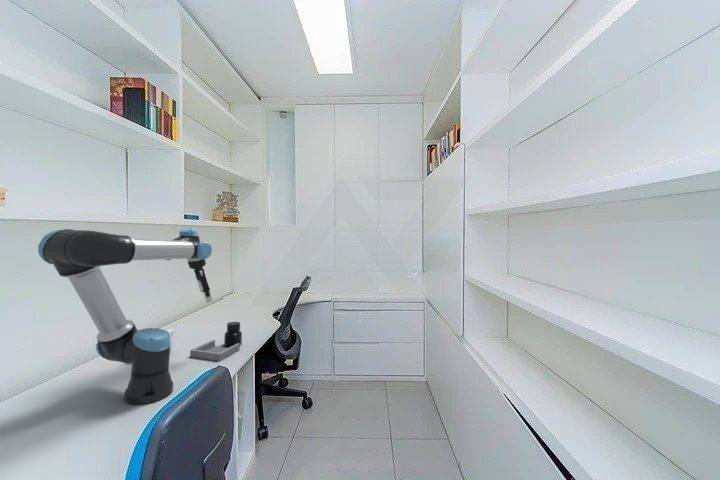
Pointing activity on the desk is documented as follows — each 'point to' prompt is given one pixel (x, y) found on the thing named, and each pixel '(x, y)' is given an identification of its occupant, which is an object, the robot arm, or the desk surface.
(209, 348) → the tray
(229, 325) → the ink bottle
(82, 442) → the desk surface
